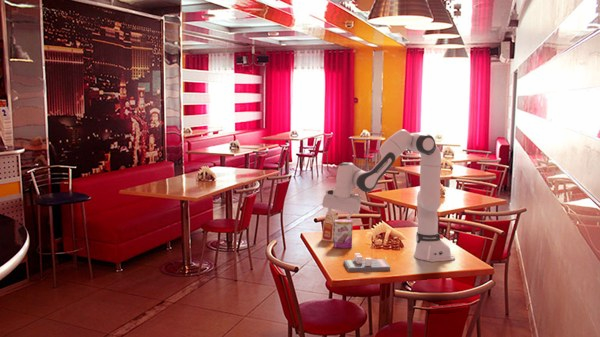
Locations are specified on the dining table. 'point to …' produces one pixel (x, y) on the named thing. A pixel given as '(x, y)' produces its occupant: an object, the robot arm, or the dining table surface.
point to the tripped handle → (368, 261)
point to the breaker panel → (376, 266)
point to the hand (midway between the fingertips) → (339, 218)
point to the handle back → (356, 255)
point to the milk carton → (329, 226)
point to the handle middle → (359, 259)
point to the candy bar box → (342, 234)
